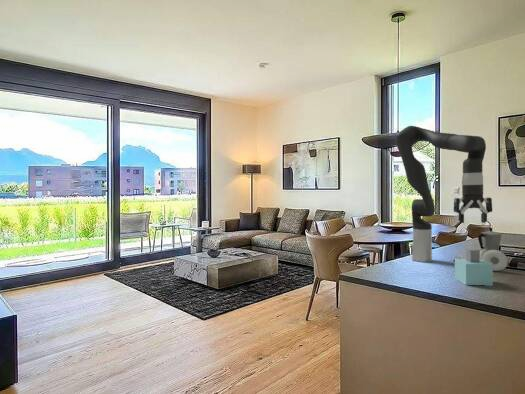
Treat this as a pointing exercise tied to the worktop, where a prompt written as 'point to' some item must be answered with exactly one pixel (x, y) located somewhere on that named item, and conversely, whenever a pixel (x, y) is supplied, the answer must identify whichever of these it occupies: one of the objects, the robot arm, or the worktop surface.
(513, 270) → the worktop surface
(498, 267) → the donut
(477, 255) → the mint green box
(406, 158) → the robot arm
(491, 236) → the coffeepot
